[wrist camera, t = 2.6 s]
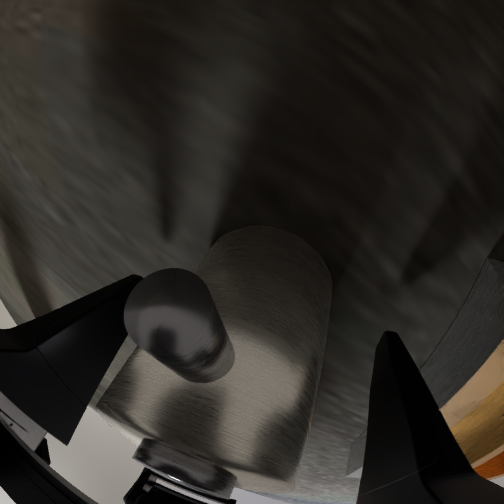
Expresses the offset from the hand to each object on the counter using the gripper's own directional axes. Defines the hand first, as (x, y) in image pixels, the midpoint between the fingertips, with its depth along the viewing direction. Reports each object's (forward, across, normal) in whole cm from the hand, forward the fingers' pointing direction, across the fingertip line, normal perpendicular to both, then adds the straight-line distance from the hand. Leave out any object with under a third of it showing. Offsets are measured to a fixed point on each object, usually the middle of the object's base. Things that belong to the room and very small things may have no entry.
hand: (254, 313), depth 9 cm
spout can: (+2, 0, -1) cm, 2 cm away
